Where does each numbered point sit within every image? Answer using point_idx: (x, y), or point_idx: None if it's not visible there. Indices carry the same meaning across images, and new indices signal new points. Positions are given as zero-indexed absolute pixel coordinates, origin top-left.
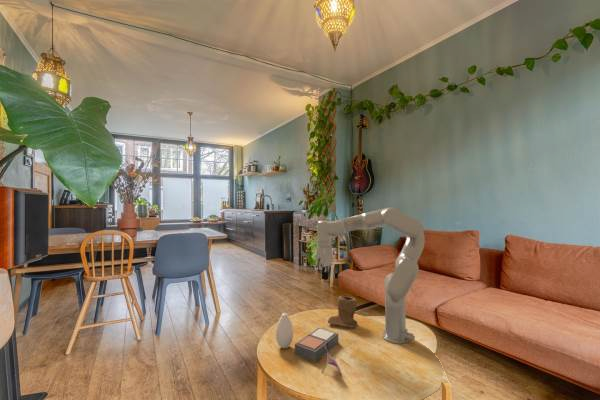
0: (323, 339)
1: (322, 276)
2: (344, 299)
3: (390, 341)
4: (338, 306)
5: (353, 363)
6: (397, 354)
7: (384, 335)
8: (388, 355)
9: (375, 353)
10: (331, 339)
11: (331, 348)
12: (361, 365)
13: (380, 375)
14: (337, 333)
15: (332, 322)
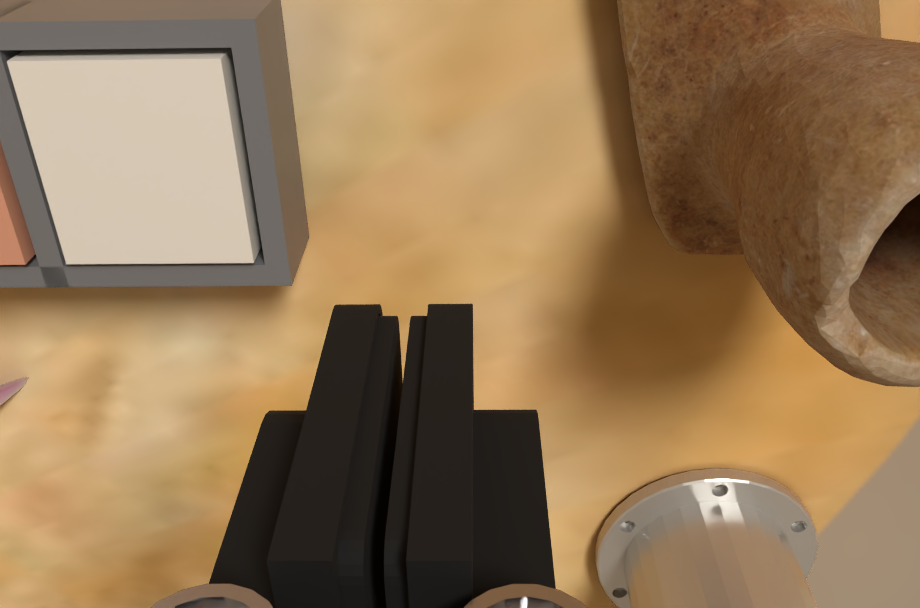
0: (58, 231)
1: (258, 455)
2: (823, 286)
3: (596, 547)
4: (786, 113)
5: (134, 449)
6: None
7: (656, 506)
8: None
9: None
10: (138, 284)
11: None
12: (157, 493)
13: (156, 595)
14: (286, 277)
15: (625, 2)
